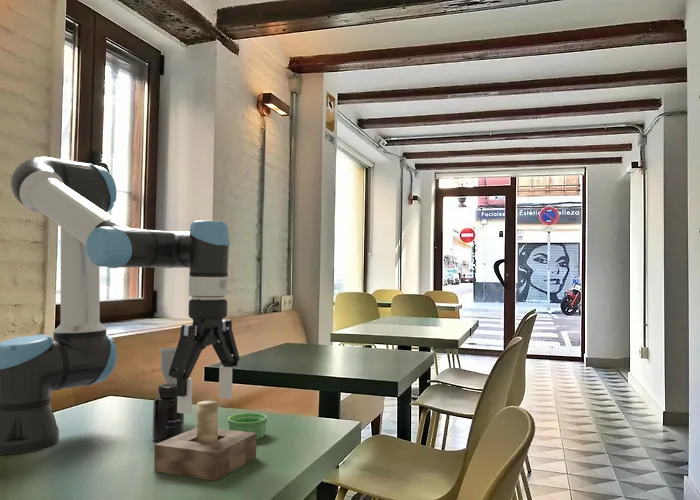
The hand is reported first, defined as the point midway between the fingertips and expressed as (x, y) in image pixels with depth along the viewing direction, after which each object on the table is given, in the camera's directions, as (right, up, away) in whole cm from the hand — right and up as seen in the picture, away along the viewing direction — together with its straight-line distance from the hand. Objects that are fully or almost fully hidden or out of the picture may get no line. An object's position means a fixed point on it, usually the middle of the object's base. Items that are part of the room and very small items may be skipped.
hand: (205, 405), depth 115 cm
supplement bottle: (-13, -12, +17) cm, 25 cm away
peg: (0, -12, -1) cm, 12 cm away
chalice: (-17, -13, +34) cm, 40 cm away
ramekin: (+5, -13, +19) cm, 23 cm away
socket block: (0, -12, -1) cm, 12 cm away
